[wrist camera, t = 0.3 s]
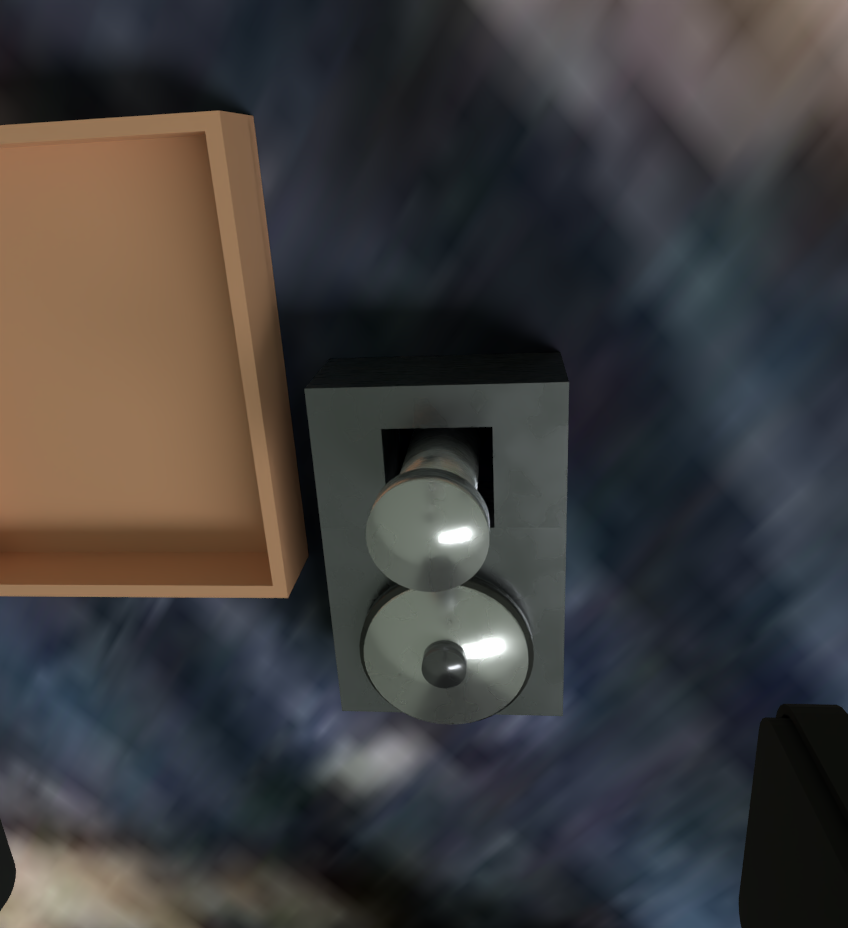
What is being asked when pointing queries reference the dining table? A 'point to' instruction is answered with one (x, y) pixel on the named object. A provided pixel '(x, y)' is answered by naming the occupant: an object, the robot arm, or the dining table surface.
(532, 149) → the dining table surface
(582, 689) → the dining table surface
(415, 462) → the lock pin
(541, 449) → the pulley bracket
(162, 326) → the tray
